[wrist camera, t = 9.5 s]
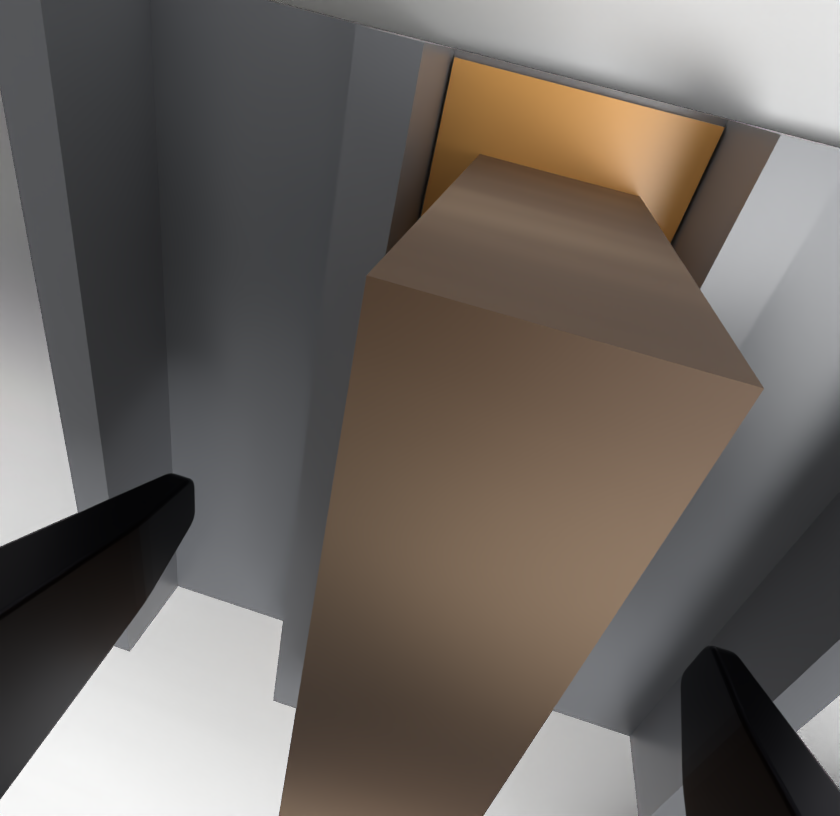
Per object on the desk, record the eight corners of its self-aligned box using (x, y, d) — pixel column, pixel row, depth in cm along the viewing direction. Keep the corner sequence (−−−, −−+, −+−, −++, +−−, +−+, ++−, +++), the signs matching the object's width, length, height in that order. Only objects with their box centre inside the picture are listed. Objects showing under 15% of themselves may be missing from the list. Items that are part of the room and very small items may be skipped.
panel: (451, 651, 15) (397, 947, 10) (362, 623, 15) (265, 899, 10) (640, 196, 8) (763, 389, 3) (480, 153, 8) (365, 275, 3)
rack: (1105, 216, 8) (1503, 323, 5) (645, 734, 16) (668, 906, 13) (125, -37, 9) (-137, -102, 6) (165, 575, 17) (71, 696, 14)
